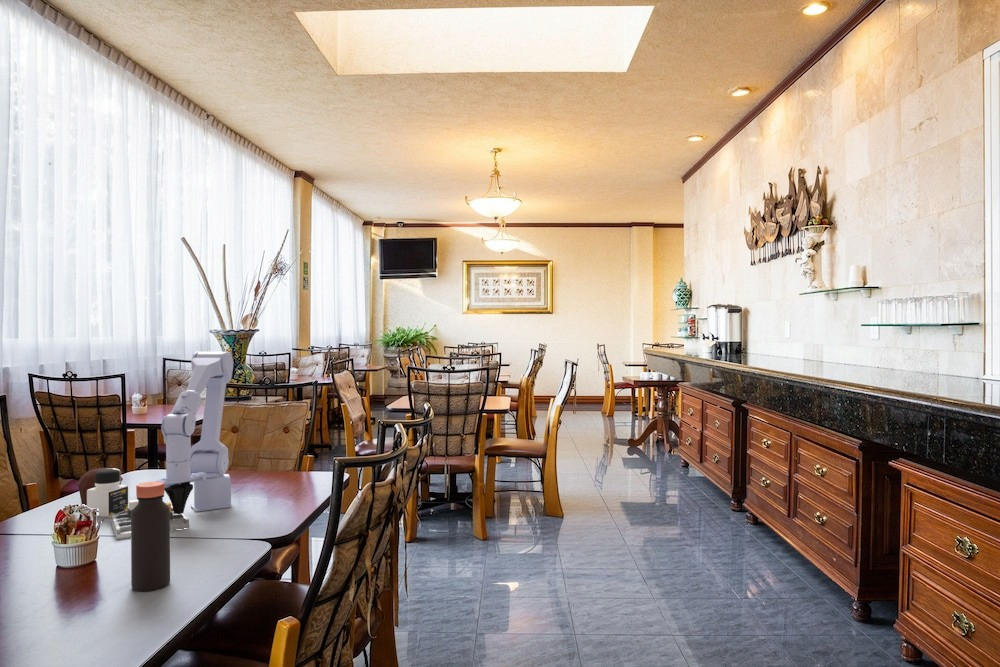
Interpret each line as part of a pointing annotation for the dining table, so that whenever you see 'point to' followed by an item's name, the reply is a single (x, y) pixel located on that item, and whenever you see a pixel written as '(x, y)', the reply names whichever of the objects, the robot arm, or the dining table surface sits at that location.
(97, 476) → the medicine bottle
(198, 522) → the dining table surface
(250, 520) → the dining table surface
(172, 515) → the orange fader
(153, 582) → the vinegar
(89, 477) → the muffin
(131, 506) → the white fader
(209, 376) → the robot arm
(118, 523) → the gray compartment tray
